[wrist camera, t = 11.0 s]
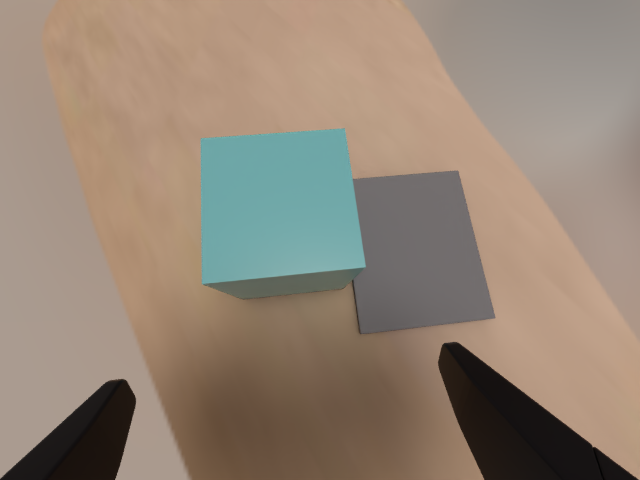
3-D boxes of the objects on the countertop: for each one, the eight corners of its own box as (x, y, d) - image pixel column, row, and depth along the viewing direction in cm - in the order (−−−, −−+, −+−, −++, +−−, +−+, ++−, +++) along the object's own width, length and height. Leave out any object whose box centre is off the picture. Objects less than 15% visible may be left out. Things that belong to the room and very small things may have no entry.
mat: (492, 318, 22) (495, 318, 22) (360, 334, 22) (361, 334, 21) (455, 172, 26) (458, 170, 25) (339, 182, 25) (339, 180, 24)
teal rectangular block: (342, 288, 23) (365, 267, 14) (242, 299, 22) (202, 283, 13) (331, 197, 24) (344, 128, 16) (239, 205, 24) (200, 138, 15)
